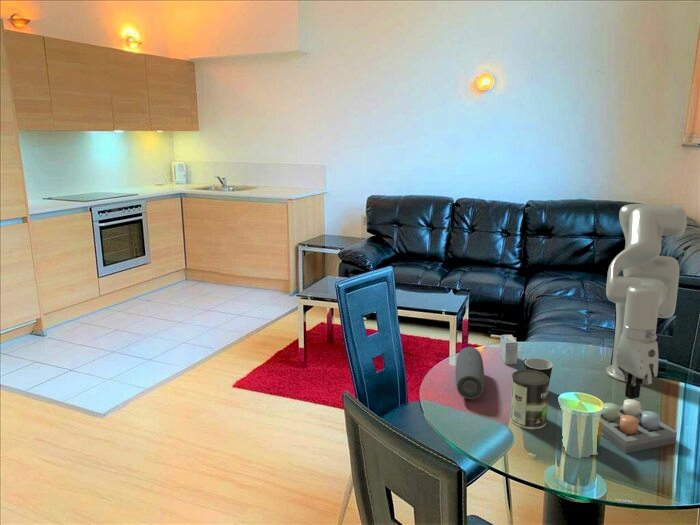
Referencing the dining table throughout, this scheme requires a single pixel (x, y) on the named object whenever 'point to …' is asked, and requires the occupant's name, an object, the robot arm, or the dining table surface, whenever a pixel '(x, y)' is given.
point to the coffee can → (529, 399)
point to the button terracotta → (629, 424)
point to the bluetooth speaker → (469, 373)
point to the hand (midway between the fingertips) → (632, 396)
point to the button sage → (611, 411)
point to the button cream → (631, 407)
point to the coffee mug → (539, 365)
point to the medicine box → (508, 349)
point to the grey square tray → (637, 435)
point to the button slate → (650, 420)
